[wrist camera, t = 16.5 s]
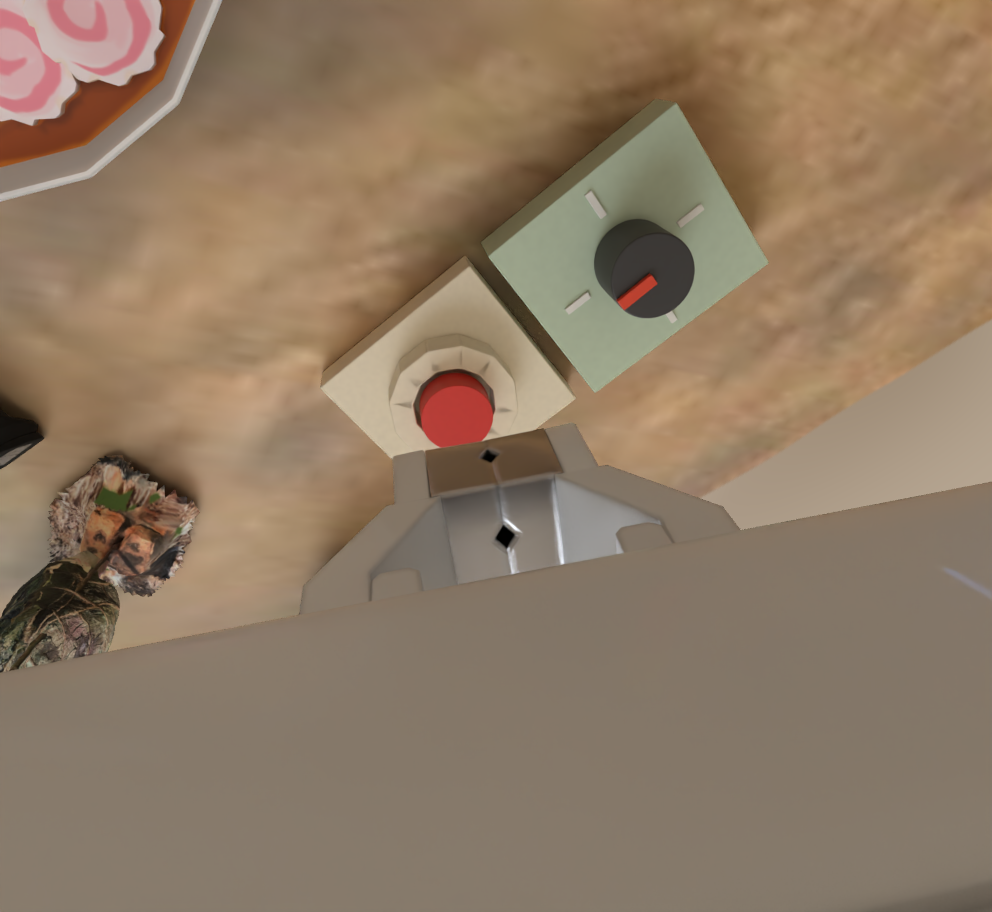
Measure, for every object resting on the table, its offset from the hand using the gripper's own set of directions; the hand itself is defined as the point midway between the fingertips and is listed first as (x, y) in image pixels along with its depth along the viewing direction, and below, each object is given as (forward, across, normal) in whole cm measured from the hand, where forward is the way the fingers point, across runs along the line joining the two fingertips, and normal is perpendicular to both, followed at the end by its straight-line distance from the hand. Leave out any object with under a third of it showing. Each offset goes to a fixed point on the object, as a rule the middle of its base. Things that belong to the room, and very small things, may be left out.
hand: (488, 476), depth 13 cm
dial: (+26, -10, +4) cm, 28 cm away
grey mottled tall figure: (+29, +20, +16) cm, 39 cm away
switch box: (+29, 0, +10) cm, 31 cm away
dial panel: (+29, -10, +4) cm, 31 cm away
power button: (+26, 0, +10) cm, 27 cm away
